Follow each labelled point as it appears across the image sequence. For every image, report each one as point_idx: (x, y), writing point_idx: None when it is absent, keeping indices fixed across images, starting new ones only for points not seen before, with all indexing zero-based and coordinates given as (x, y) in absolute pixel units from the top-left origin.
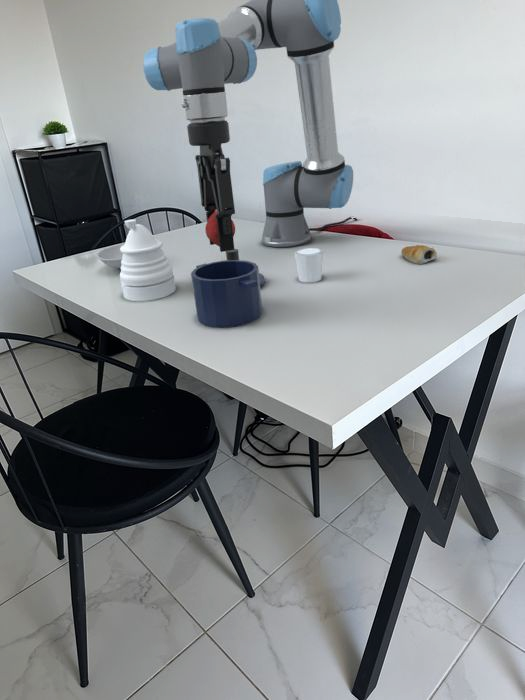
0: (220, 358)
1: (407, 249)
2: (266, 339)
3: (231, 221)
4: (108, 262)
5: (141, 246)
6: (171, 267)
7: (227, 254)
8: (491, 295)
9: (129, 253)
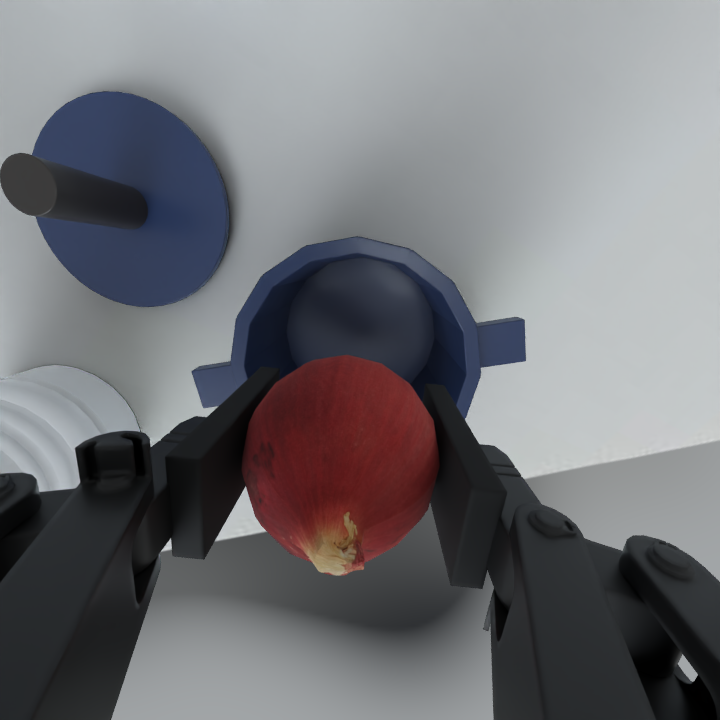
0: (553, 443)
1: None
2: (550, 330)
3: (490, 463)
4: None
5: None
6: (18, 394)
7: (53, 216)
8: None
9: None
